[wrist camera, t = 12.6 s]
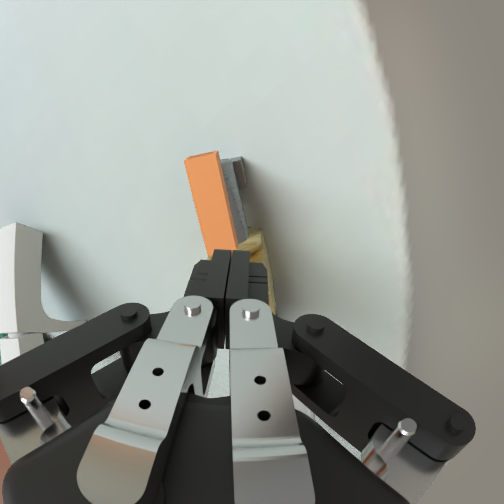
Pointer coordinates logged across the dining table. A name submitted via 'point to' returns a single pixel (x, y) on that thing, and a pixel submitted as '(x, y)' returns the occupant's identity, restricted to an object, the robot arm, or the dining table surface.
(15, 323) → the faucet
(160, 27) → the dining table surface
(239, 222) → the valve
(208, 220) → the lever
